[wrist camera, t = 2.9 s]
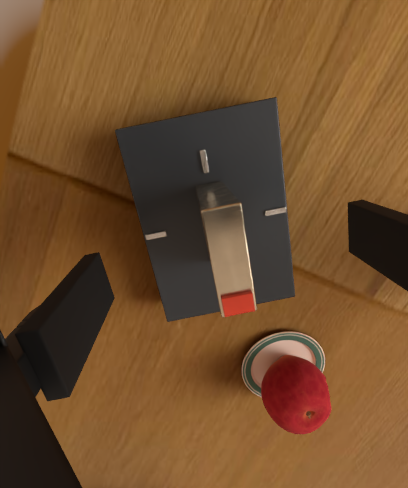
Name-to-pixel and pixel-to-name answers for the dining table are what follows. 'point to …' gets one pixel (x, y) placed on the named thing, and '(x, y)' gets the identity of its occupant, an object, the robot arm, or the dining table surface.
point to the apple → (289, 380)
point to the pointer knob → (227, 248)
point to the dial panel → (187, 208)
